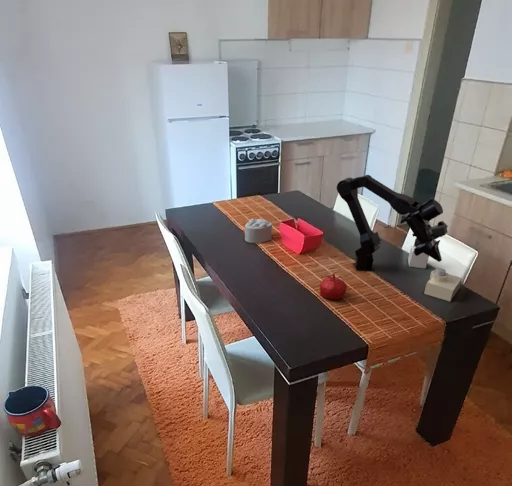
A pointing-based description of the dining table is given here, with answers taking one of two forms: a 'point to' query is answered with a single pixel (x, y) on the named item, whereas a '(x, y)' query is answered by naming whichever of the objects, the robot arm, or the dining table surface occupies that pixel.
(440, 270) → the flush button
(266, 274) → the dining table surface
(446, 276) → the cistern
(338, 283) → the pomegranate
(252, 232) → the lumpy-topped squat cylinder
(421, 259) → the medicine bottle
